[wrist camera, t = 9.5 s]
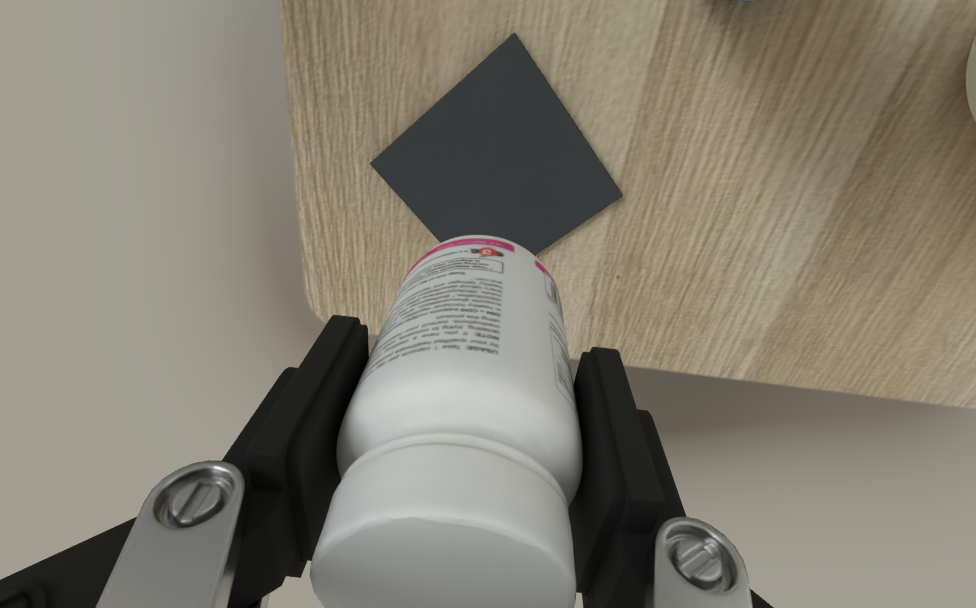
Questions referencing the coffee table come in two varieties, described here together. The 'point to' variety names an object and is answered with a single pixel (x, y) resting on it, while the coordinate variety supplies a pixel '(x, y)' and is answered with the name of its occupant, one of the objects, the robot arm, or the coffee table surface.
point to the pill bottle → (459, 444)
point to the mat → (498, 159)
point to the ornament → (971, 80)
